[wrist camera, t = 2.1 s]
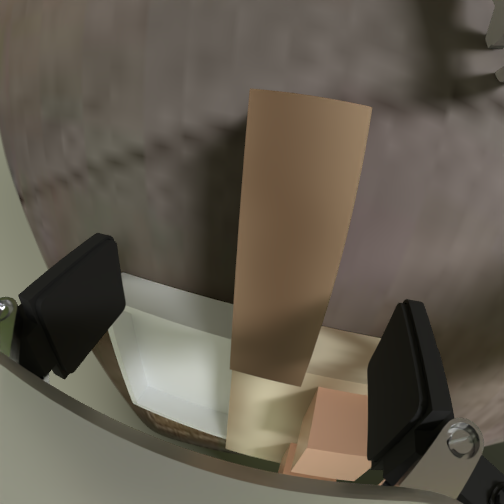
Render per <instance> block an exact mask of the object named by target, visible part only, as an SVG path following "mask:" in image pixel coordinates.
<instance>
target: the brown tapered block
mask: <svg viewBox="0 0 504 504" xmlns="http://www.w3.org/2000/svg"><path fill="white" fill-rule="evenodd" d="M371 112H372V107H369V106H364V105H360V104H355V103H350V102H345V101H340V100H334V99H329V98H323V97H317V96H310V95H303V94H296V93H288V92H280V91H270V90H260V89H250V93H249V105H248V116H247V128H246V140H245V152H244V164H243V177H242V190H241V203H240V216H239V230H238V244H237V259H236V273H235V288H234V304H233V320H232V337H231V354H230V370H234V371H237V372H241V373H245V374H248V375H252V376H256V377H260V378H264V379H268V380H272V381H276V382H280V383H285V384H289V385H293V386H298V387H301V385H302V382H303V380H304V377H305V374H306V371H307V368H308V365H309V363H310V360H311V357H312V354H313V351H314V348H315V345H316V342H317V339H318V336H319V332H320V329H321V326H322V323H323V320H324V316H325V313H326V310H327V307H328V303H329V300H330V296H331V293H332V289H333V286H334V282H335V279H336V275H337V272H338V268H339V264H340V260H341V257H342V253H343V249H344V245H345V241H346V237H347V233H348V229H349V225H350V220H351V216H352V212H353V207H354V203H355V198H356V194H357V189H358V184H359V179H360V174H361V169H362V164H363V159H364V153H365V148H366V142H367V137H368V131H369V124H370V118H371Z"/></svg>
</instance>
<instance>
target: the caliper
mask: <svg viewBox="0 0 504 504" xmlns="http://www.w3.org/2000/svg"><path fill="white" fill-rule="evenodd" d="M493 2H494V4H495V9H494V12H493V15H492V19H491V22H490V25H489V28H488V31H487V34H486V37H485V40H486V43H487V47H488V48H493V49H503V48H504V0H493ZM495 75H496V77H497V79H498V80H499V82H504V66H503V67H502V68H501V69H499V70H498V71H497V72H495Z"/></svg>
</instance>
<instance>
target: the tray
mask: <svg viewBox="0 0 504 504" xmlns="http://www.w3.org/2000/svg"><path fill="white" fill-rule="evenodd" d="M121 277H122V283H123V289H124V295H125V300H126V306H125V309H124V311H123V312H122V314H121V315H120V316H119V317H118V318H117V319H116V321H115V322H114V323H113V324H112V325H111V327H110V328H109V329H108V332H109V335H110V338H111V342H112V345H113V348H114V351H115V355H116V358H117V361H118V364H119V367H120V370H121V372H122V375H123V378H124V381H125V384H126V386H127V389H128V392H129V394H130V397H131V400H132V402H133V404H135V405H137V406H140V407H142V408H144V409H146V410H149V411H151V412H153V413H156V414H158V415H160V416H163V417H165V418H168V419H170V420H173V421H175V422H178V423H180V424H183V425H186V426H188V427H191V428H194V429H197V430H200V431H203V432H205V433H208V434H211V435H214V436H218V437H221V438H224V439H226V436H227V424H228V412H229V400H230V389H231V377H232V370H230V354H231V337H232V320H233V304H230V303H226V302H223V301H219V300H215V299H212V298H208V297H204V296H201V295H197V294H194V293H190V292H187V291H183V290H180V289H176V288H173V287H170V286H166V285H163V284H159V283H156V282H153V281H150V280H146V279H143V278H140V277H137V276H133V275H130V274H127V273H124V272H122V273H121Z"/></svg>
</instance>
